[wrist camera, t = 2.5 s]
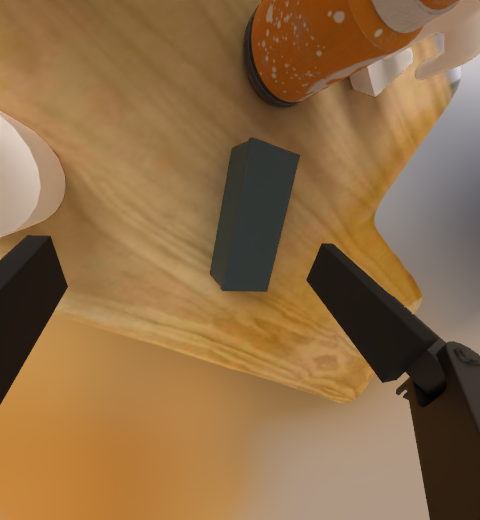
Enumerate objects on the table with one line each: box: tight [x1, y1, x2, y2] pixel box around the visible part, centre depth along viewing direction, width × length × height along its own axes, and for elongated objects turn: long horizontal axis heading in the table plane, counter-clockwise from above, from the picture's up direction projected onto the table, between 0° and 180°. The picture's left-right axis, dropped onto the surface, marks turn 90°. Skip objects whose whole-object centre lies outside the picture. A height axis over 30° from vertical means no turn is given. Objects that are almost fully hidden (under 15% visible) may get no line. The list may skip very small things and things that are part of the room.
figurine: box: [349, 0, 480, 97], centre depth 22 cm, size 7×9×15 cm
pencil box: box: [210, 137, 300, 292], centre depth 25 cm, size 15×6×5 cm, turn 168°
